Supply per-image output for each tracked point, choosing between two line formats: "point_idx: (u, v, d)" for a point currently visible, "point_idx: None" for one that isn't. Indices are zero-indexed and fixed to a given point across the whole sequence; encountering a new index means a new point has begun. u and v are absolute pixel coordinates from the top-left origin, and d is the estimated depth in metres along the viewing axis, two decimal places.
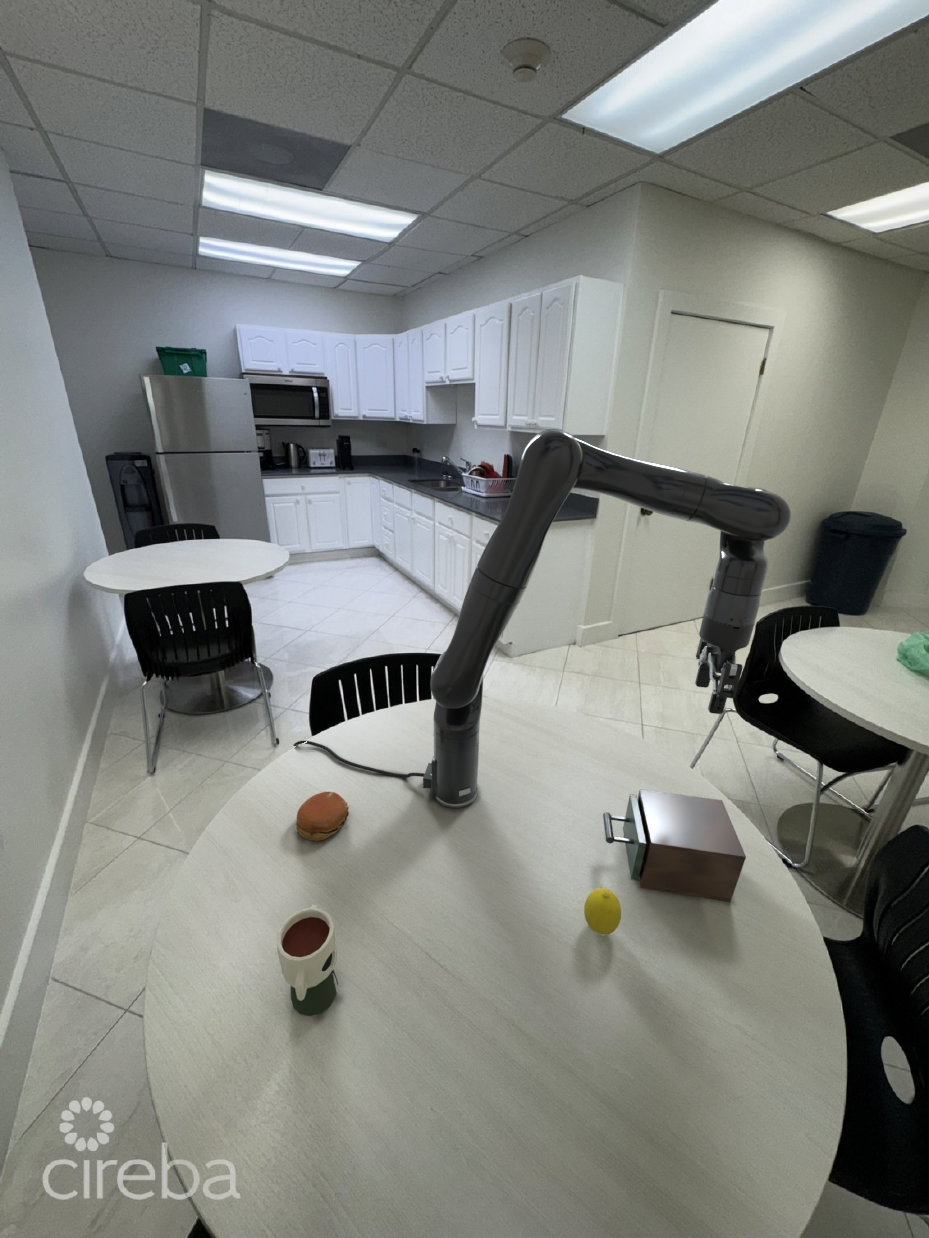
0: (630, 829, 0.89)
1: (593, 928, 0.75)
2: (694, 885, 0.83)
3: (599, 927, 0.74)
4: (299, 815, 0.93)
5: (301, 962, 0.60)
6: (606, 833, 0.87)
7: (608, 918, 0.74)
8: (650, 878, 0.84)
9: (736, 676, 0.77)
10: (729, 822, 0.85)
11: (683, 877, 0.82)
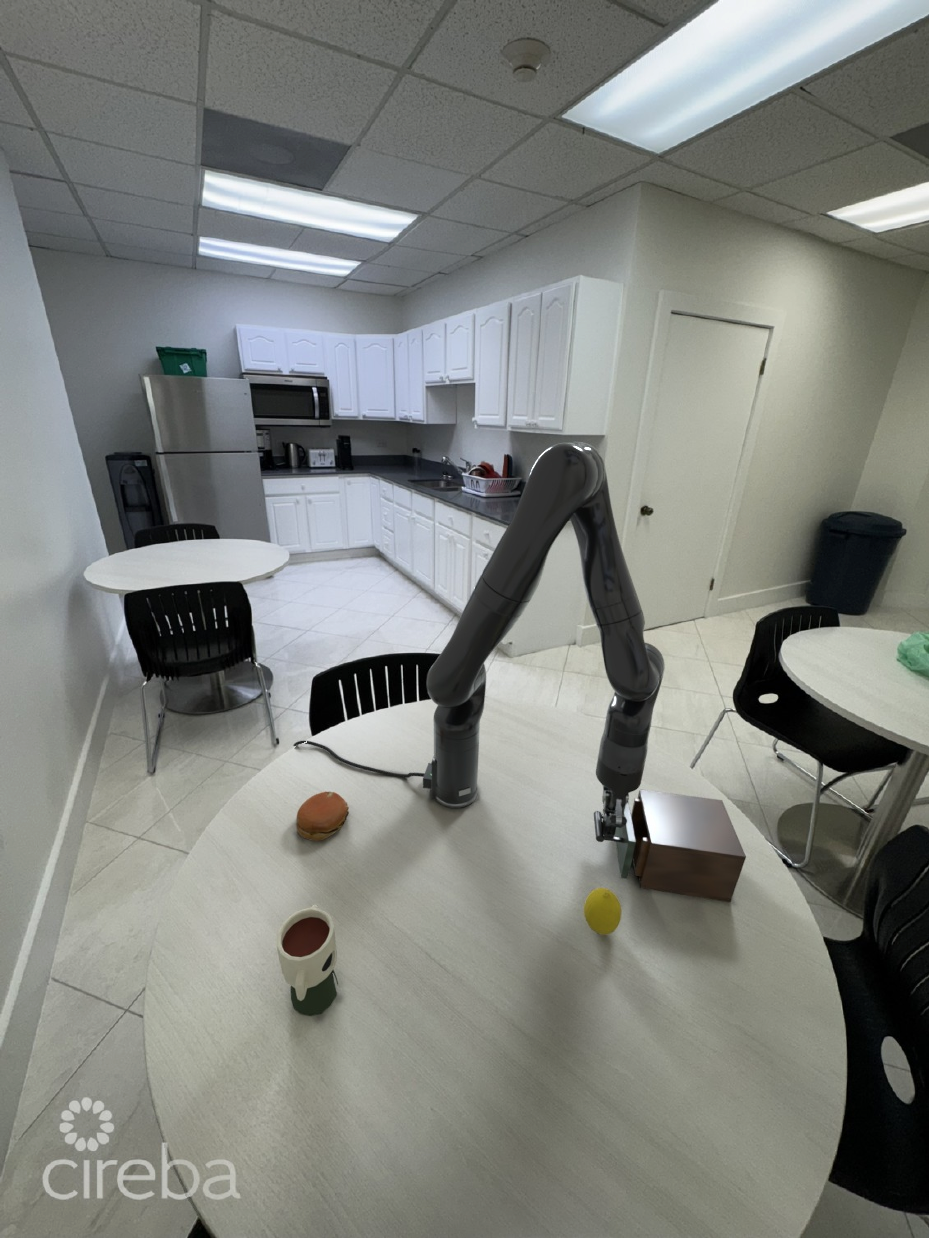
0: (620, 828, 0.89)
1: (593, 928, 0.75)
2: (694, 885, 0.83)
3: (599, 927, 0.74)
4: (299, 815, 0.93)
5: (301, 962, 0.60)
6: (596, 832, 0.87)
7: (608, 918, 0.74)
8: (650, 878, 0.84)
9: (620, 825, 0.82)
10: (729, 822, 0.85)
11: (683, 877, 0.82)
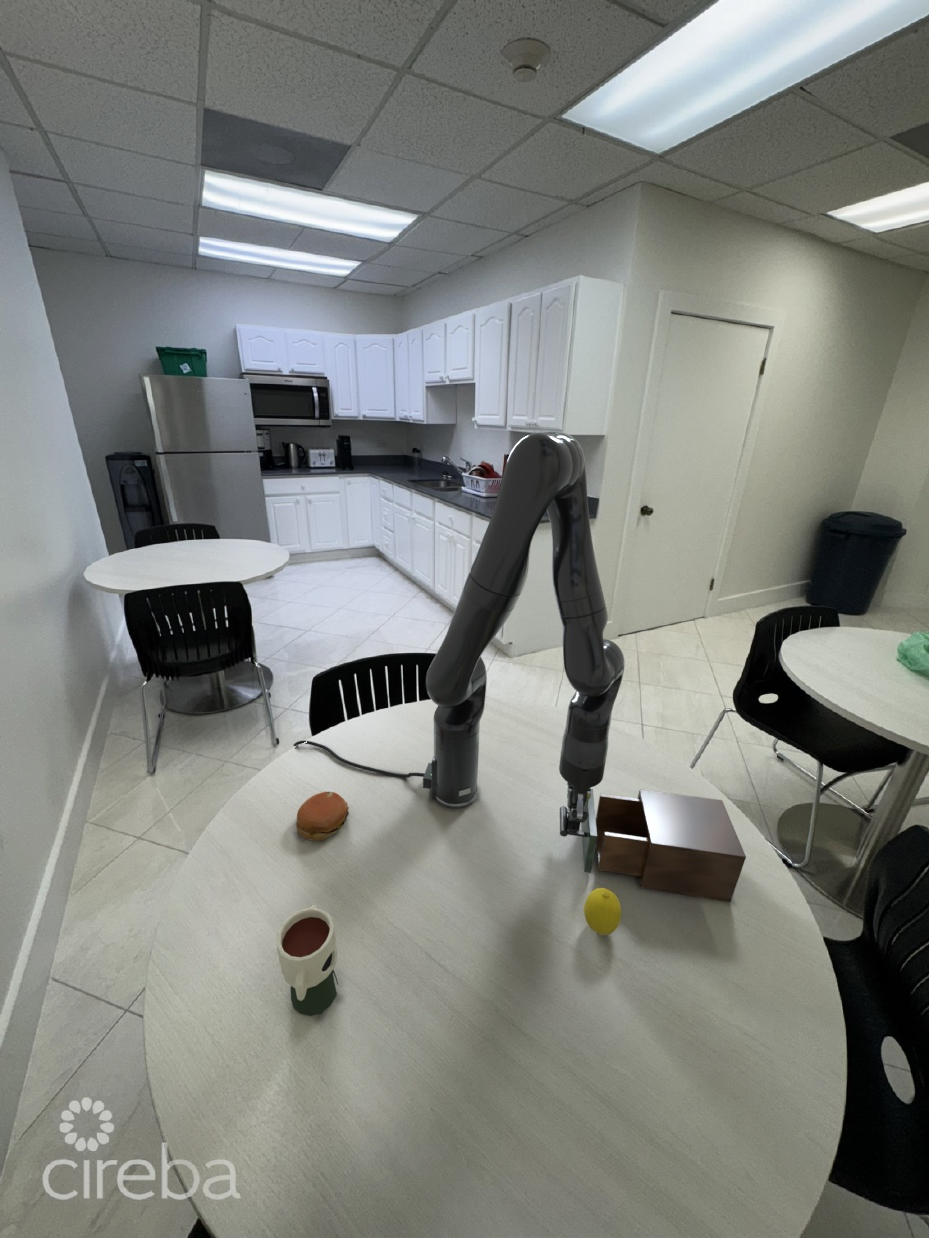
0: (585, 823, 0.90)
1: (593, 928, 0.75)
2: (694, 885, 0.83)
3: (599, 927, 0.74)
4: (299, 815, 0.93)
5: (301, 962, 0.60)
6: (560, 826, 0.88)
7: (608, 918, 0.74)
8: (650, 878, 0.84)
9: (582, 819, 0.83)
10: (729, 822, 0.85)
11: (683, 877, 0.82)
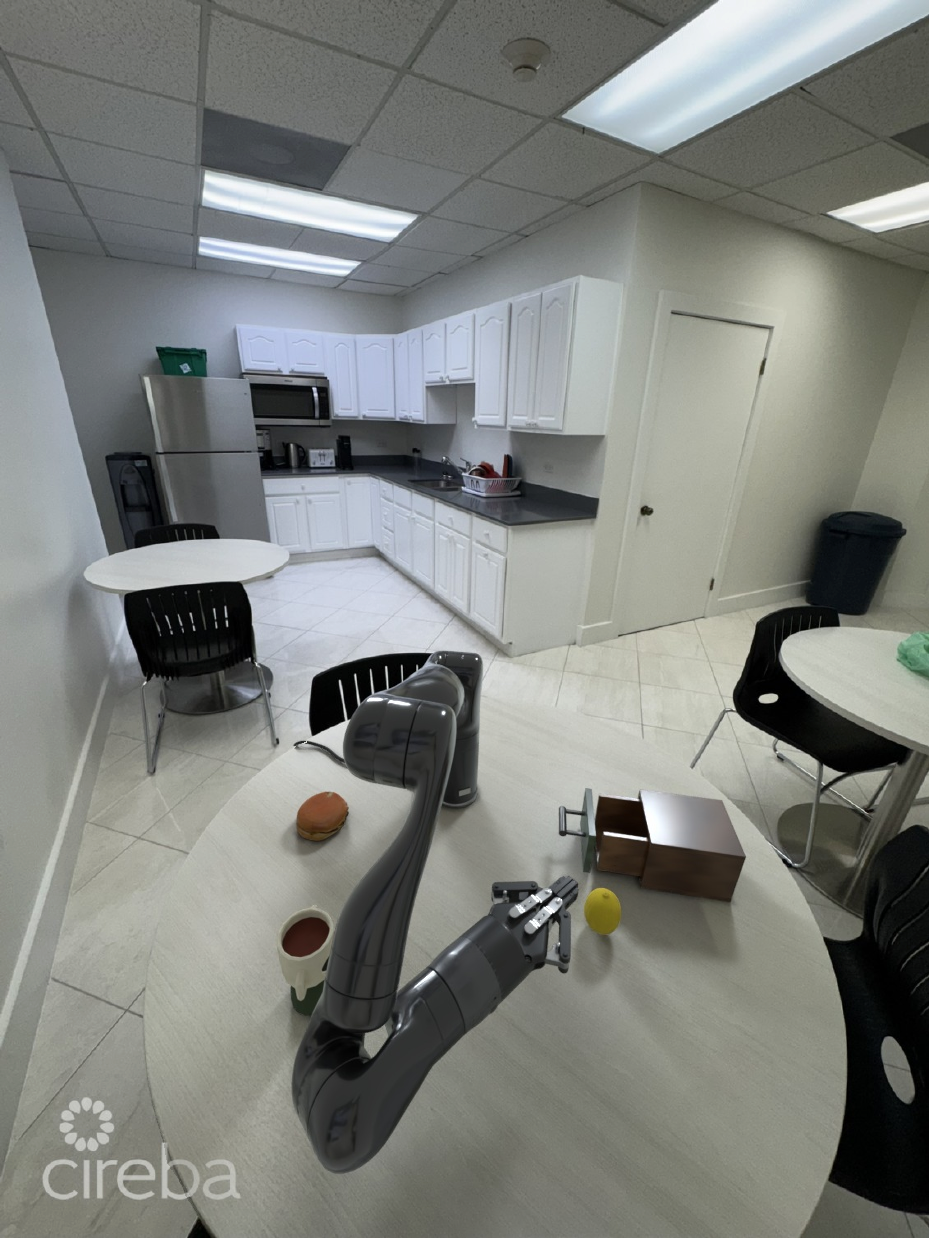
0: (584, 822, 0.90)
1: (593, 928, 0.75)
2: (694, 885, 0.83)
3: (599, 927, 0.74)
4: (299, 815, 0.93)
5: (301, 962, 0.60)
6: (559, 826, 0.88)
7: (608, 918, 0.74)
8: (650, 878, 0.84)
9: None
10: (729, 822, 0.85)
11: (683, 877, 0.82)
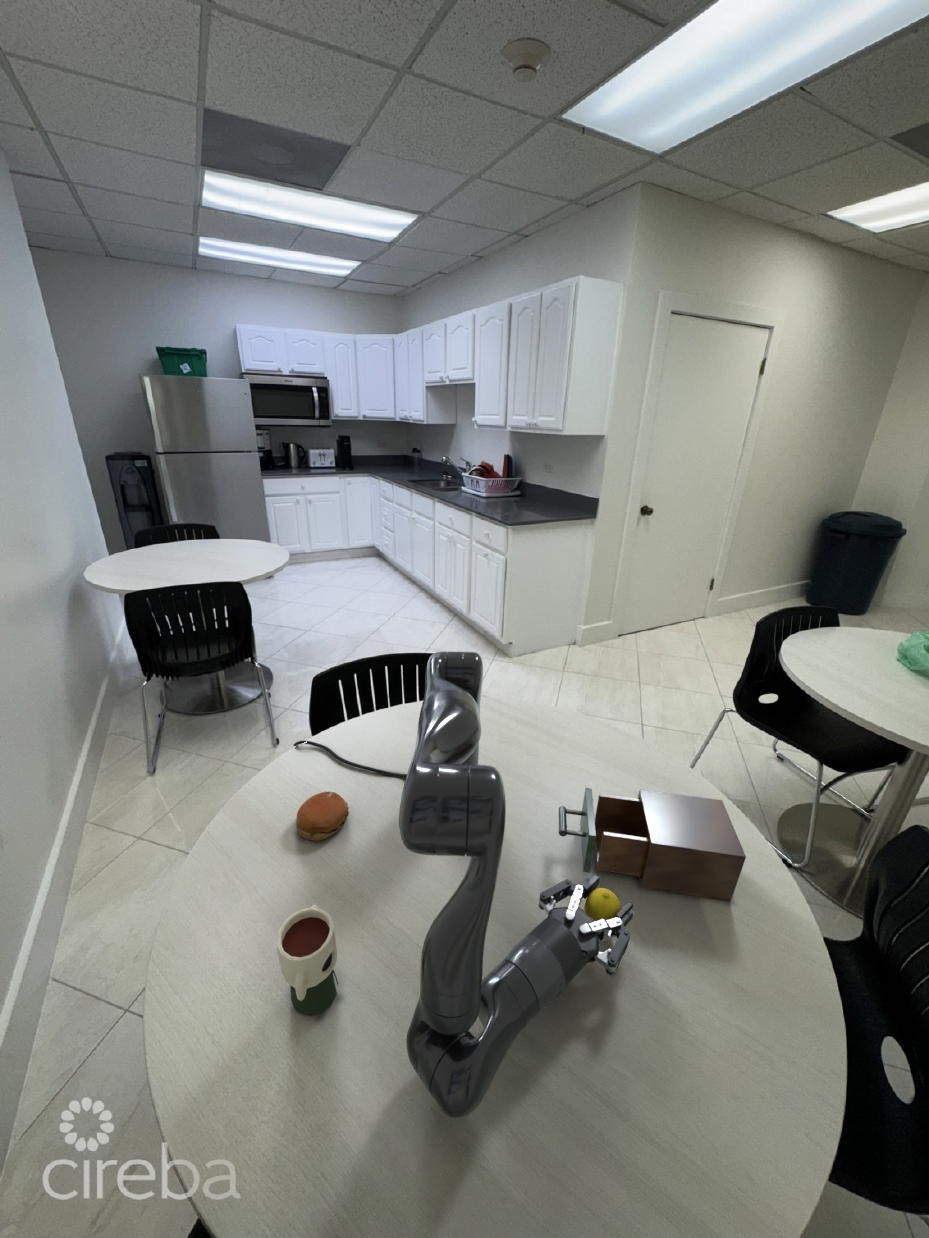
0: (584, 822, 0.90)
1: None
2: (694, 885, 0.83)
3: None
4: (299, 815, 0.93)
5: (301, 962, 0.60)
6: (559, 826, 0.88)
7: (608, 918, 0.74)
8: (650, 878, 0.84)
9: None
10: (729, 822, 0.85)
11: (683, 877, 0.82)
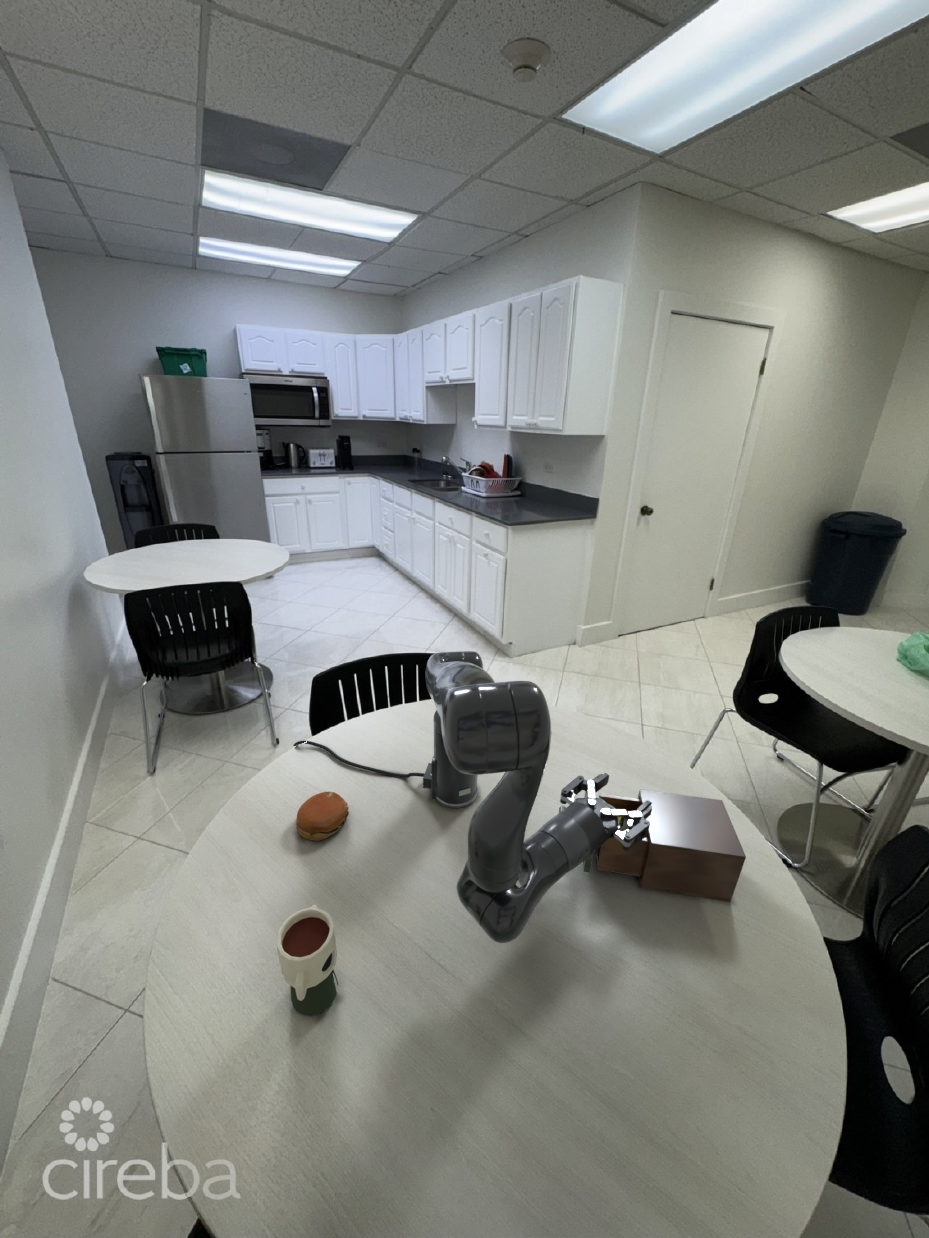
0: None
1: None
2: (694, 885, 0.83)
3: None
4: (299, 815, 0.93)
5: (301, 962, 0.60)
6: None
7: None
8: (650, 878, 0.84)
9: None
10: (729, 822, 0.85)
11: (683, 877, 0.82)
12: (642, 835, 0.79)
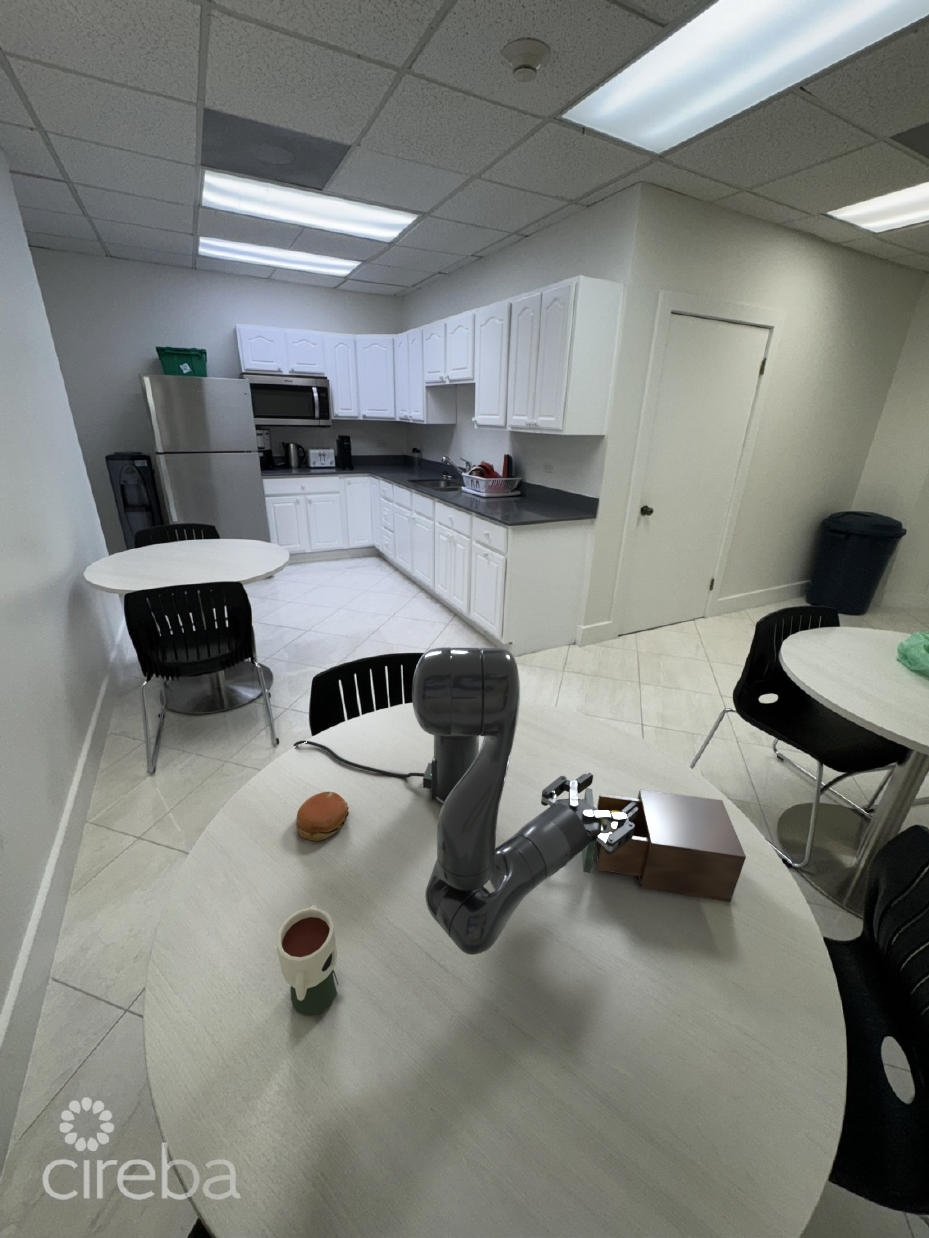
0: None
1: None
2: (694, 885, 0.83)
3: None
4: (299, 815, 0.93)
5: (301, 962, 0.60)
6: None
7: None
8: (650, 878, 0.84)
9: None
10: (729, 822, 0.85)
11: (683, 877, 0.82)
12: (626, 838, 0.74)
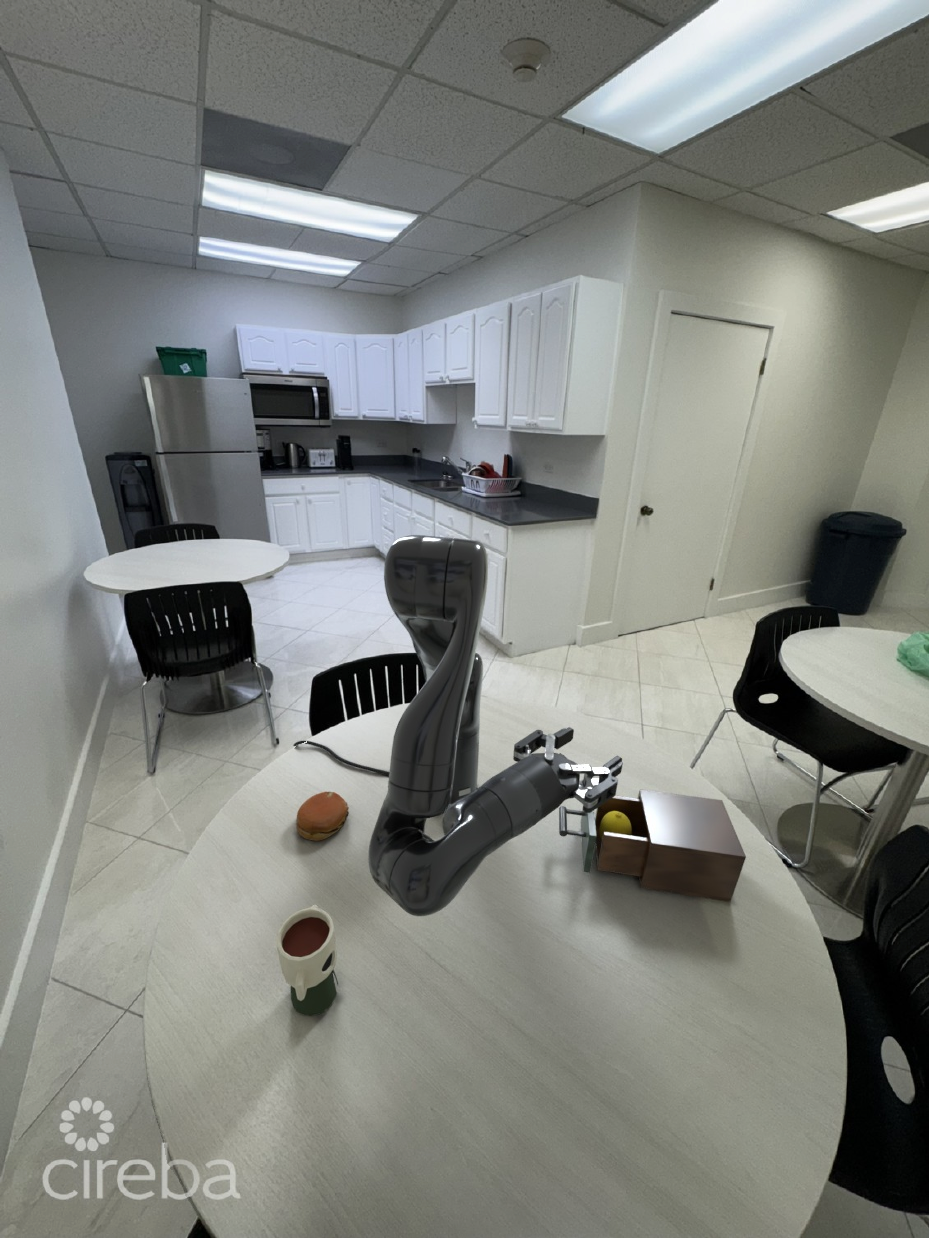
0: (584, 822, 0.90)
1: None
2: (694, 885, 0.83)
3: None
4: (299, 815, 0.93)
5: (301, 962, 0.60)
6: (560, 826, 0.88)
7: (621, 833, 0.86)
8: (650, 878, 0.84)
9: None
10: (729, 822, 0.85)
11: (683, 877, 0.82)
12: (608, 795, 0.65)
